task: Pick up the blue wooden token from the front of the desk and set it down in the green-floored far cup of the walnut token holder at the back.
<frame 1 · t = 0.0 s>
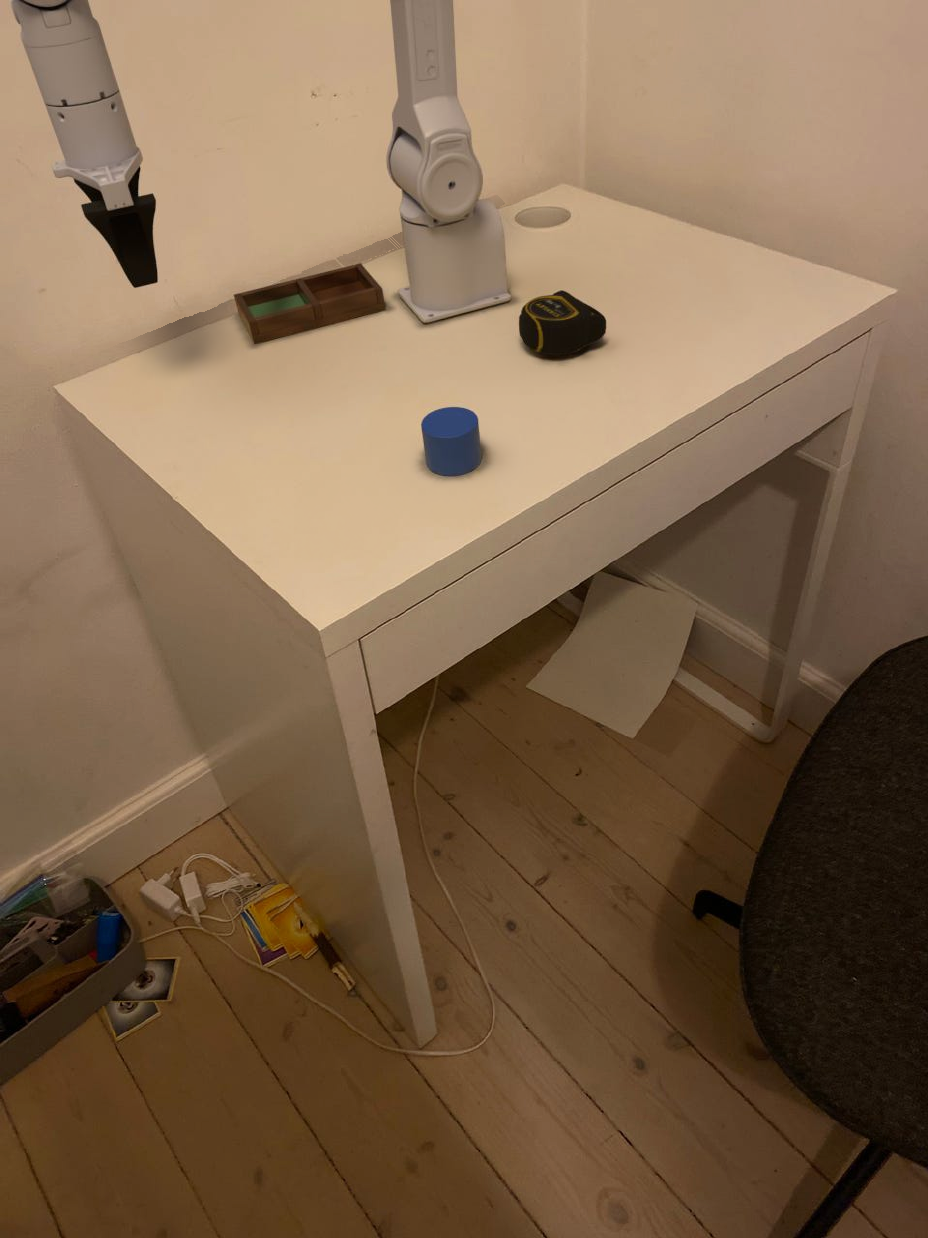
hand: (139, 267, 81), 10 cm above the table, tool pointing down, fingers open, 7 cm apart
tape measure: (562, 343, 86), on the table
token: (453, 459, 73), on the table
holder: (311, 312, 95), on the table
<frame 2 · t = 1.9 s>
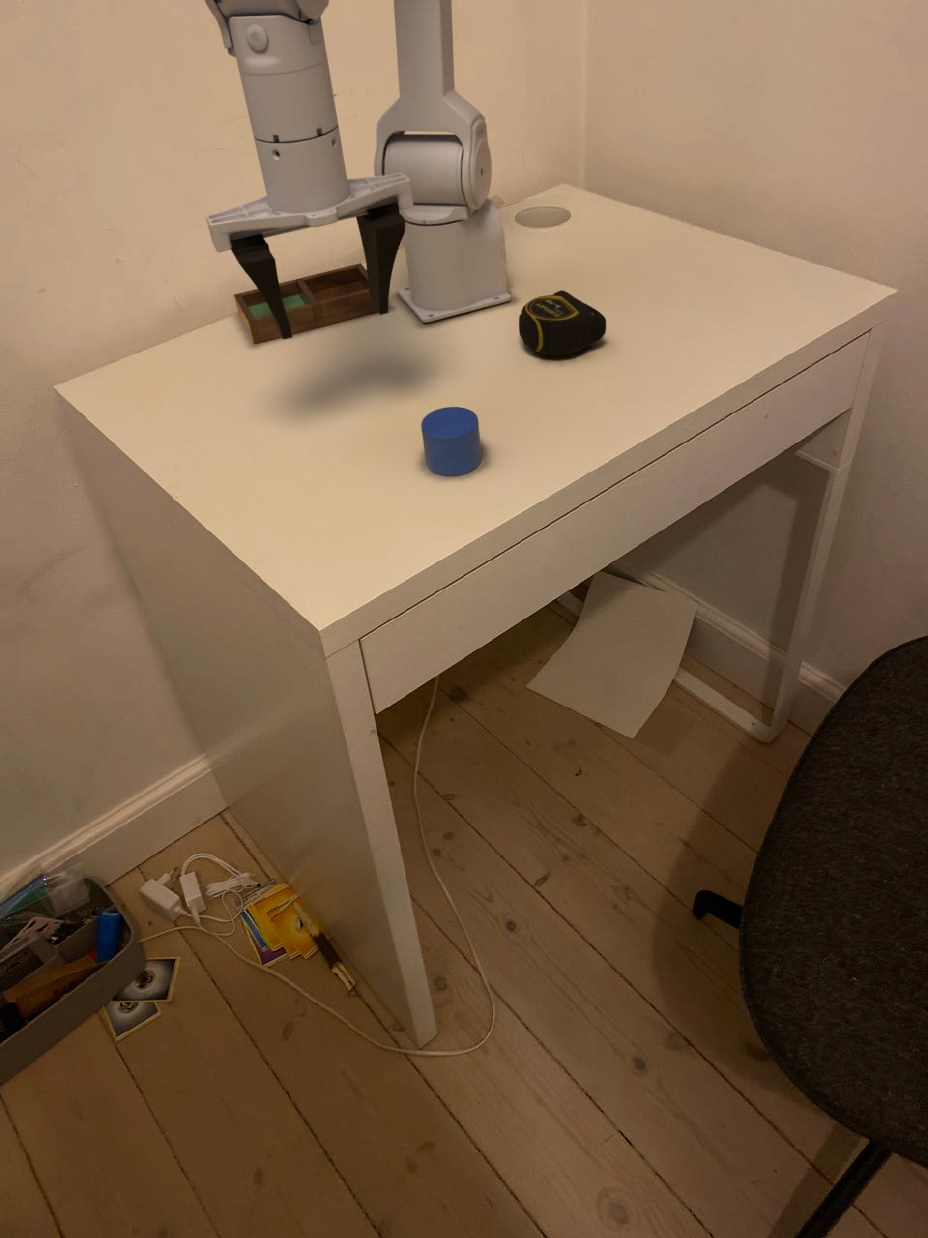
hand: (333, 320, 71), 10 cm above the table, tool pointing down, fingers open, 7 cm apart
nothing on the table moved.
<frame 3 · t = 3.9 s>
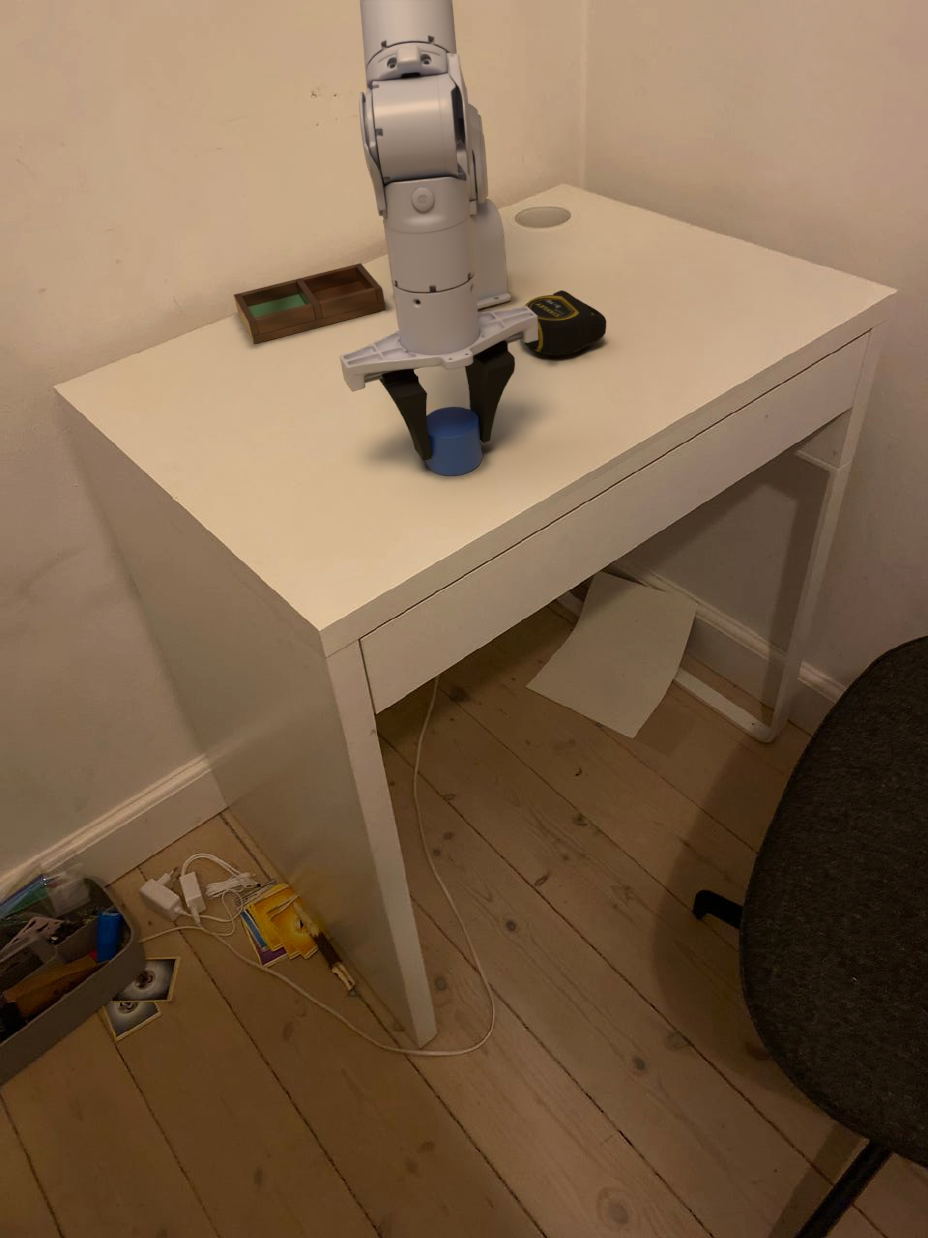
hand: (452, 444, 73), 1 cm above the table, tool pointing down, fingers closed on token, 4 cm apart
token: (454, 459, 74), on the table, touching gripper
everything else where it was.
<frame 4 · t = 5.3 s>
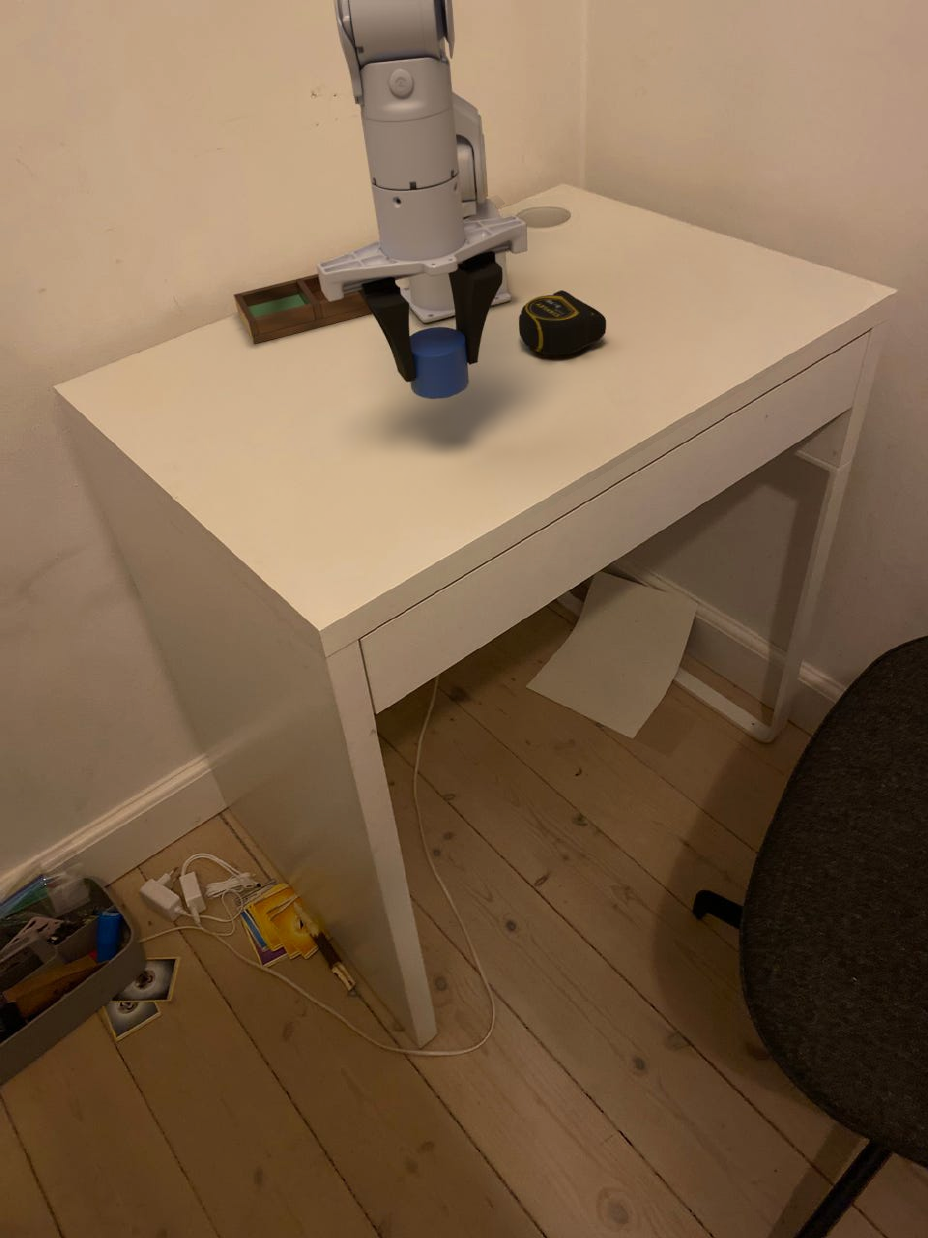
hand: (437, 366, 69), 8 cm above the table, tool pointing down, fingers closed on token, 4 cm apart
token: (439, 383, 70), point 6 cm above the table, touching gripper
everything else where it was.
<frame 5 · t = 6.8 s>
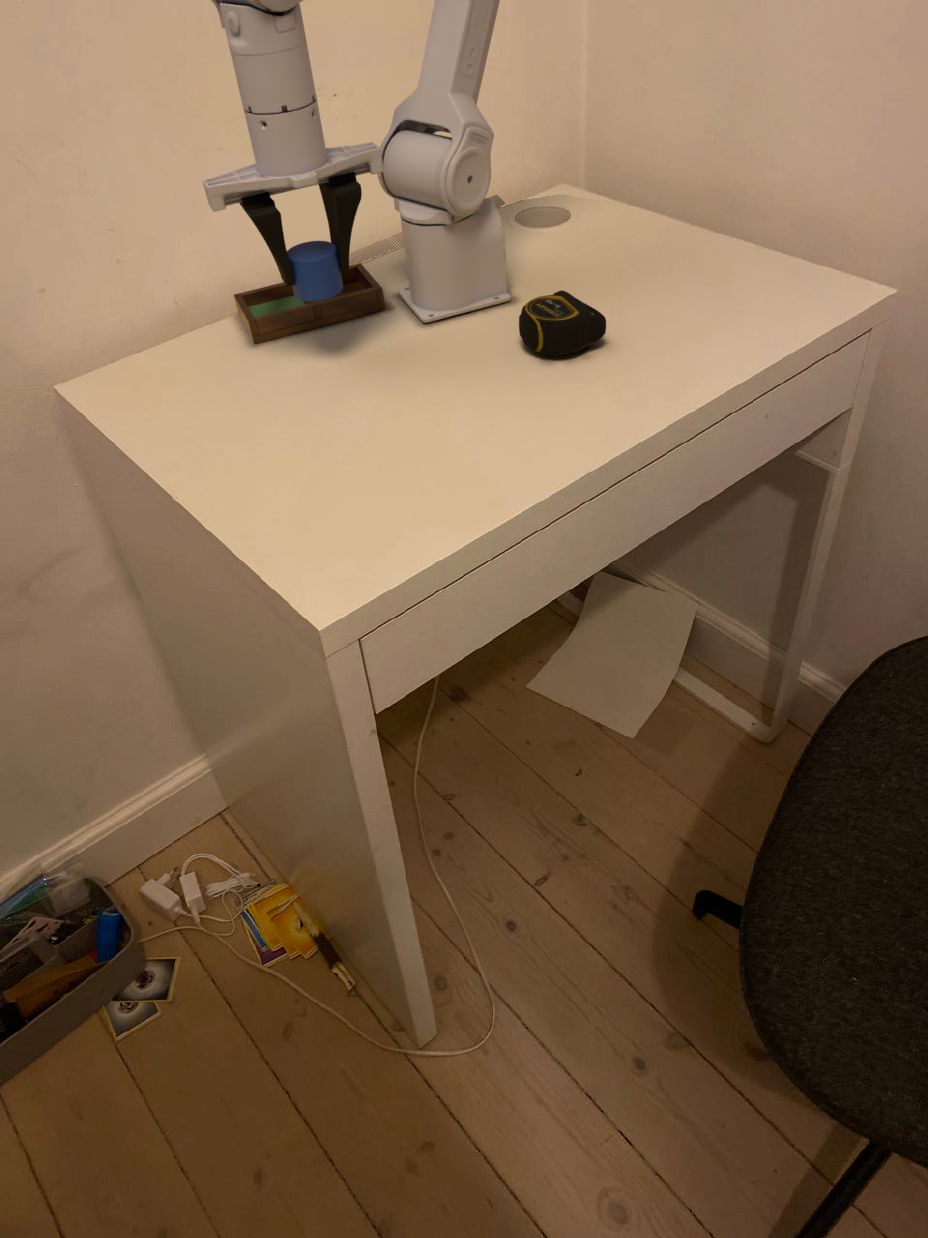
hand: (315, 274, 81), 8 cm above the table, tool pointing down, fingers closed on token, 4 cm apart
token: (318, 289, 82), point 7 cm above the table, touching gripper
everything else where it was.
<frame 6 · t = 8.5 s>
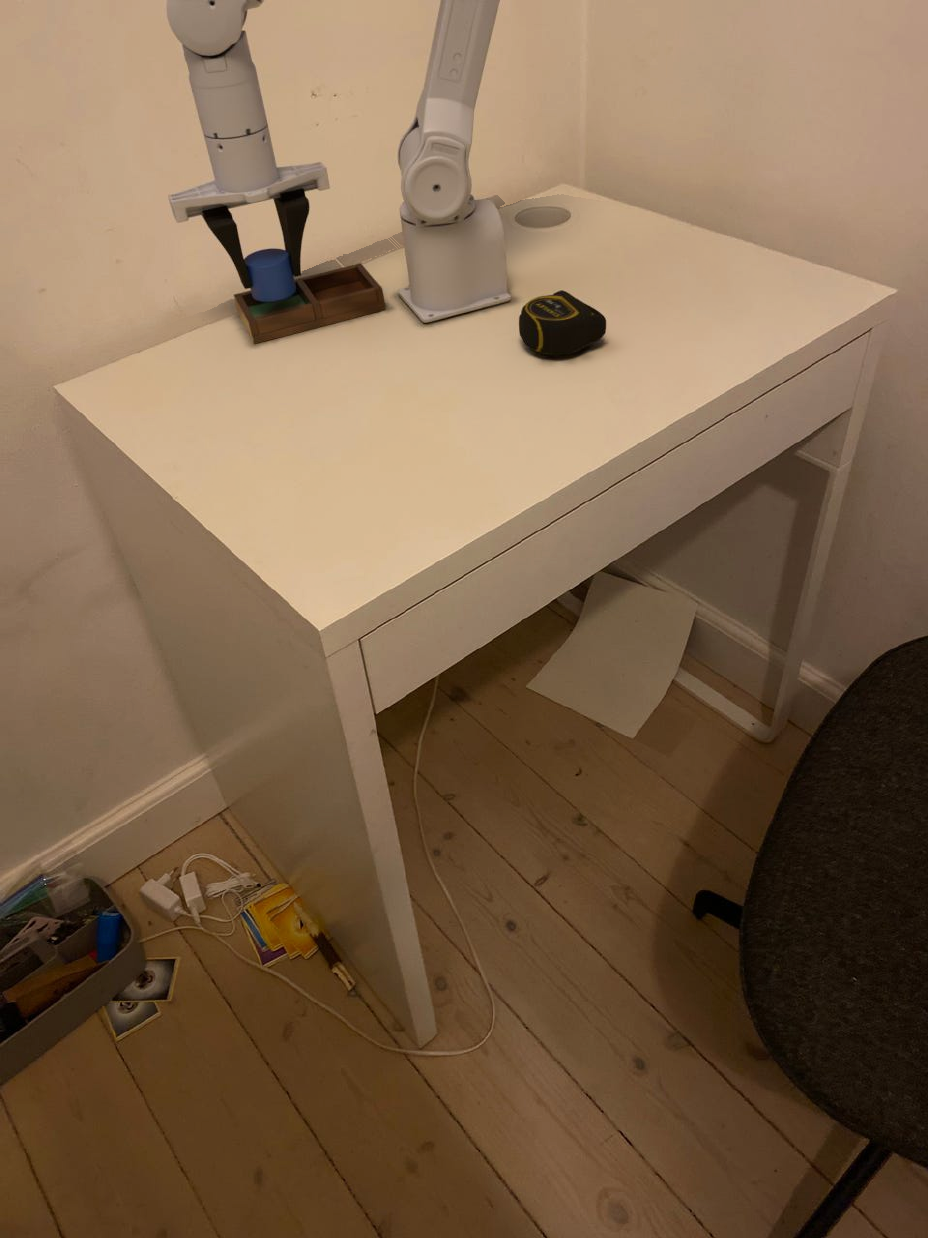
hand: (270, 278, 91), 4 cm above the table, tool pointing down, fingers closed on token, 4 cm apart
token: (274, 292, 92), point 3 cm above the table, touching gripper
everything else where it was.
when the fingers open (2 cm above the table, at t = 9.5 s): token stays where it is, resting on holder.
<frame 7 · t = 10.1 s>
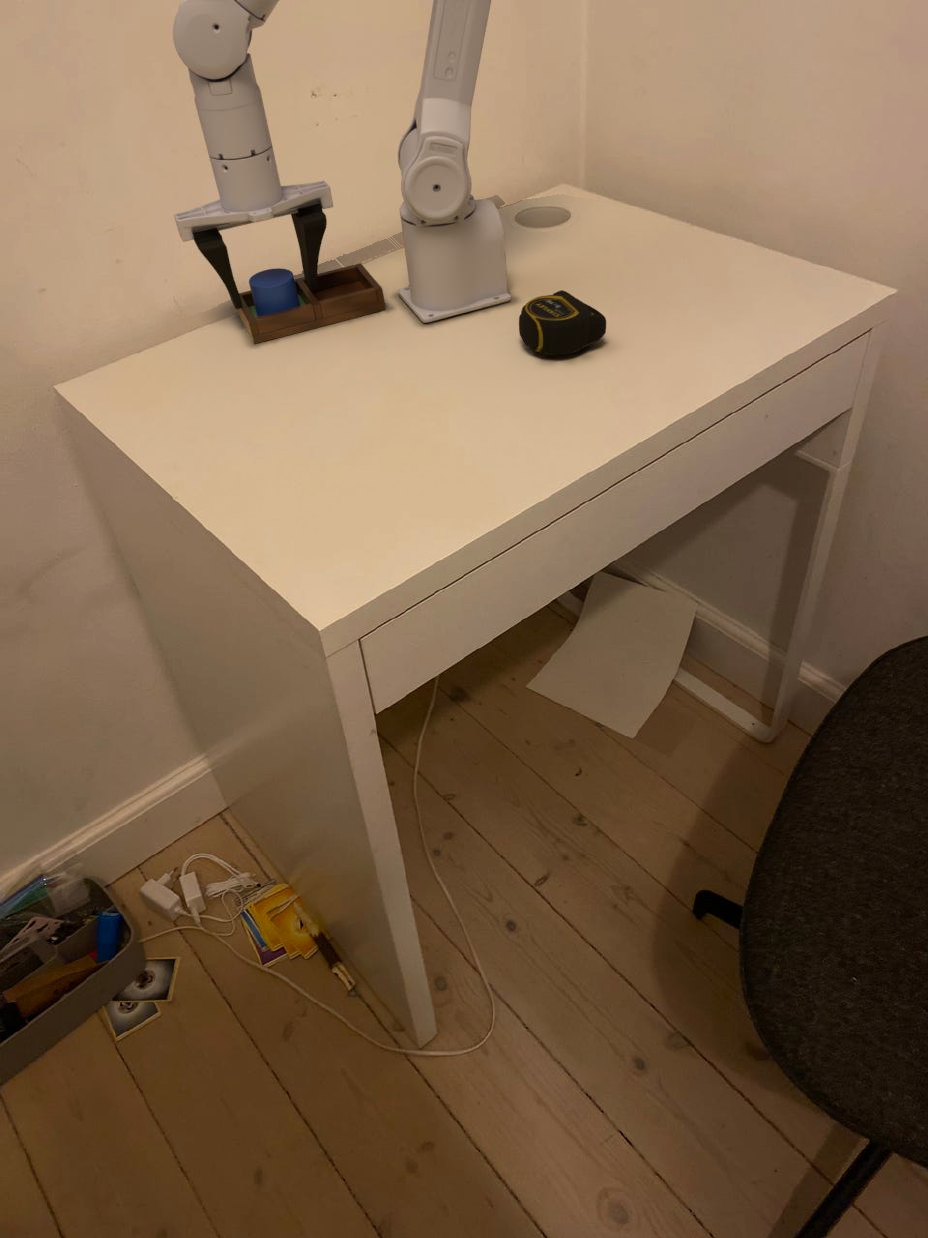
hand: (275, 295, 92), 3 cm above the table, tool pointing down, fingers open, 7 cm apart
token: (278, 311, 94), point 1 cm above the table, touching holder
everything else where it was.
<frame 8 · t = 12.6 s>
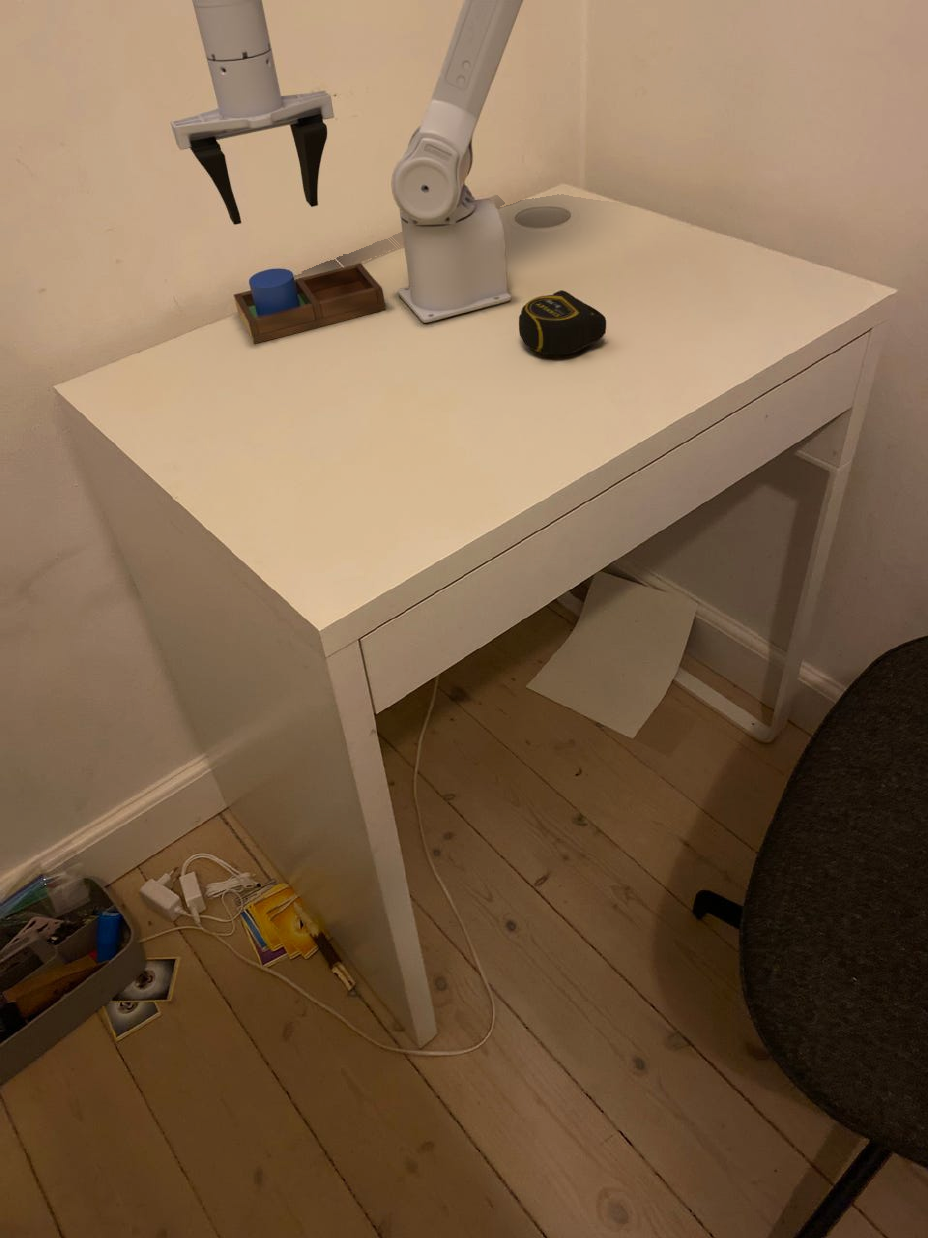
hand: (274, 211, 90), 9 cm above the table, tool pointing down, fingers open, 7 cm apart
nothing on the table moved.
at the end: token 0.0 cm from the target spot in the holder, point 1.0 cm above the holder's base; token tilted 0°; the gripper is holding nothing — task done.
